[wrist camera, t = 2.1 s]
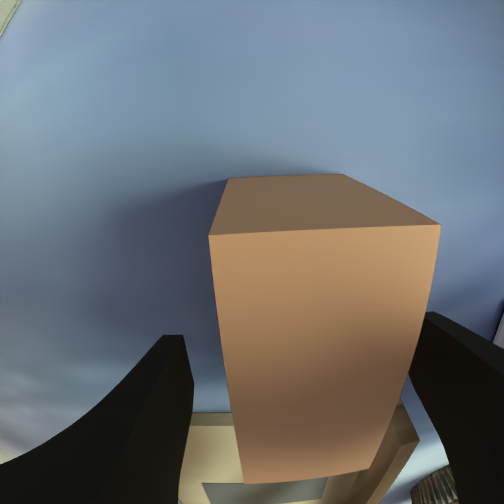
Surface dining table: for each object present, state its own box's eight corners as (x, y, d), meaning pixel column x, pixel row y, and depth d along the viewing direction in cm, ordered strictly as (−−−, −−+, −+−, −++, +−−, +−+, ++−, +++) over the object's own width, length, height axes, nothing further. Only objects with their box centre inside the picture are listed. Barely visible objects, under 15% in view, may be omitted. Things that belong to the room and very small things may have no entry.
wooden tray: (397, 392, 17) (419, 439, 13) (349, 500, 23) (356, 530, 19) (138, 410, 17) (123, 461, 13) (193, 510, 23) (190, 541, 19)
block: (342, 173, 12) (441, 224, 5) (331, 354, 15) (369, 468, 9) (228, 178, 12) (208, 235, 5) (243, 361, 15) (244, 484, 9)
